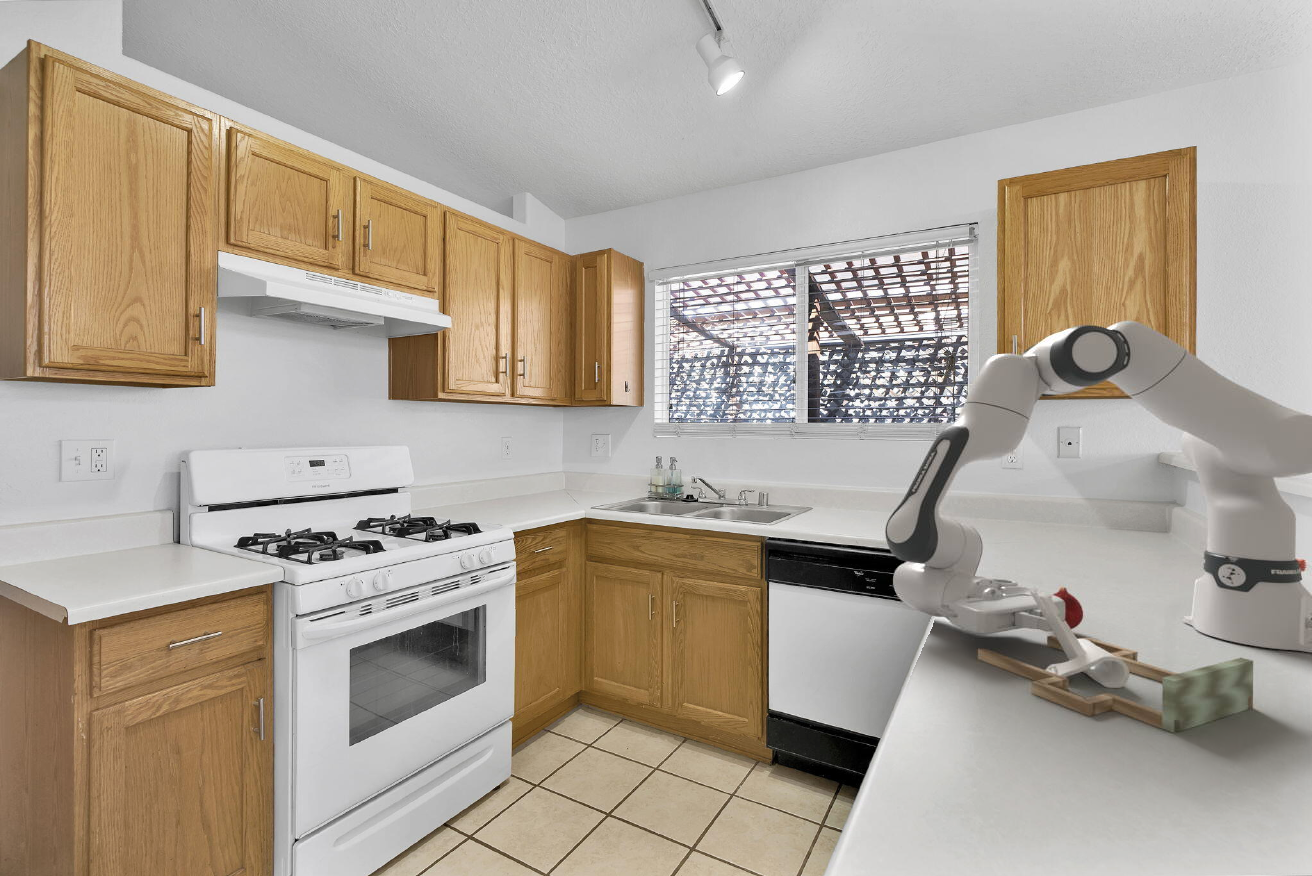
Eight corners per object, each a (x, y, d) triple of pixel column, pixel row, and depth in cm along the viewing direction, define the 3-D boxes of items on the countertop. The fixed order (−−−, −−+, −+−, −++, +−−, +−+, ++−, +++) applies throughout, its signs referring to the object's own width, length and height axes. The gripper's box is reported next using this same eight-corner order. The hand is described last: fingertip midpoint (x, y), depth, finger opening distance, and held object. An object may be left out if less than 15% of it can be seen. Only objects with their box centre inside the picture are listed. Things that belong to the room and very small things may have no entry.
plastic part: (1129, 689, 84) (1130, 604, 84) (1050, 684, 85) (1052, 600, 85) (1097, 668, 91) (1099, 590, 91) (1025, 663, 93) (1027, 586, 93)
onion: (1089, 639, 105) (1089, 592, 105) (1052, 636, 106) (1052, 590, 106) (1073, 628, 111) (1074, 584, 111) (1038, 626, 112) (1038, 582, 112)
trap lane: (1069, 641, 104) (1070, 605, 104) (1271, 701, 80) (1271, 655, 80) (956, 663, 93) (956, 623, 93) (1150, 740, 70) (1151, 687, 70)
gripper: (930, 589, 101) (1008, 612, 89) (1016, 579, 109) (1098, 598, 97) (930, 628, 101) (1008, 655, 89) (1015, 614, 109) (1098, 638, 97)
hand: (1056, 625), depth 93 cm, fingers closed
